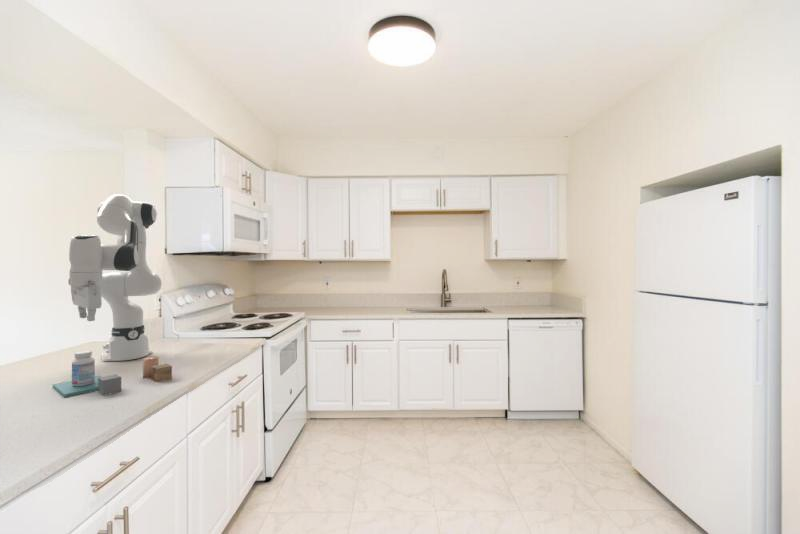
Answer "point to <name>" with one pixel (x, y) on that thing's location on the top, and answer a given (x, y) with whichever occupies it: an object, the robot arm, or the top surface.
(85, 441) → the top surface
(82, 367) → the pill bottle
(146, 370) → the peach capsule cylinder
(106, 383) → the charcoal block
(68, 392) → the teal board
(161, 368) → the walnut block
